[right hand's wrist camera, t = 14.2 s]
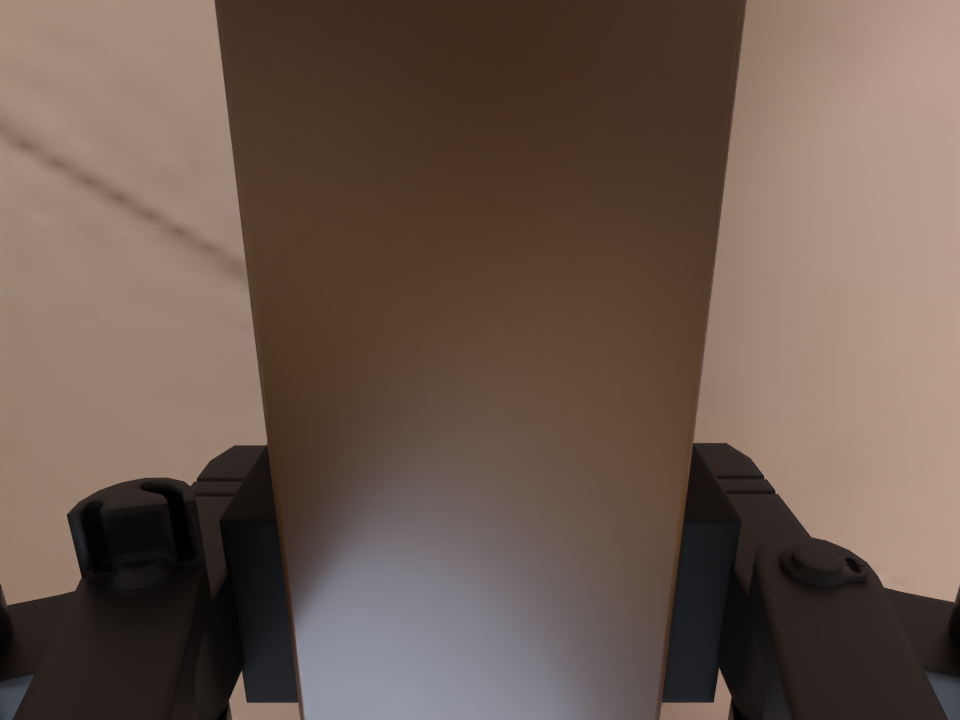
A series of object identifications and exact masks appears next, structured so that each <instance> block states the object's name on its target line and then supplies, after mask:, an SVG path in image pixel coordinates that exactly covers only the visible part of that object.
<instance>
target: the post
mask: <svg viewBox="0 0 960 720" xmlns="http://www.w3.org/2000/svg"><path fill="white" fill-rule="evenodd" d="M746 2H747V0H215V8H216V17H217V25H218V33H219V42H220V50H221V58H222V67H223V75H224V84H225V92H226V100H227V109H228V117H229V125H230V134H231V142H232V150H233V159H234V167H235V176H236V184H237V192H238V201H239V209H240V217H241V226H242V234H243V243H244V251H245V259H246V268H247V276H248V284H249V293H250V301H251V309H252V318H253V326H254V335H255V343H256V351H257V360H258V368H259V376H260V385H261V393H262V401H263V410H264V418H265V427H266V435H267V443H268V452H269V460H270V468H271V477H272V485H273V494H274V502H275V510H276V519H277V527H278V535H279V544H280V552H281V560H282V569H283V577H284V586H285V594H286V602H287V611H288V619H289V627H290V636H291V644H292V653H293V661H294V669H295V678H296V686H297V694H298V703H299V711H300V719H301V720H660V712H661V704H662V696H663V687H664V679H665V671H666V663H667V654H668V646H669V638H670V630H671V621H672V613H673V605H674V597H675V588H676V580H677V572H678V564H679V555H680V547H681V539H682V531H683V522H684V514H685V506H686V497H687V489H688V481H689V473H690V464H691V456H692V448H693V440H694V431H695V423H696V415H697V407H698V398H699V390H700V382H701V374H702V365H703V357H704V349H705V341H706V332H707V324H708V316H709V307H710V299H711V291H712V283H713V274H714V266H715V258H716V250H717V241H718V233H719V225H720V217H721V208H722V200H723V192H724V184H725V175H726V167H727V159H728V150H729V142H730V134H731V126H732V117H733V109H734V101H735V93H736V84H737V76H738V68H739V60H740V51H741V43H742V35H743V27H744V18H745V10H746Z"/></svg>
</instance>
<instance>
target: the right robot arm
mask: <svg viewBox="0 0 960 720" xmlns="http://www.w3.org/2000/svg"><path fill="white" fill-rule="evenodd" d="M67 518H68V522H69V526H70V530H71V534H72V538H73V542H74V546H75V551H76V555H77V559H78V563H79V567H80V571H81V575H82V578H81V580H80V582H79V585H78V587H77V589H76V591H73V592H69V593H65V594H62V595H57V596H52V597H47V598H42V599H37V600H32V601H27V602H22V603H17V604H12V605H7V604H6V601H5V597H4V594H3V591H2V587H1V585H0V720H232V716H231V710H230V704H229V699H230V696H231V694H232V692H233V689H234V687H235V685H236V682H237V680H238V678H239V675H240V673H241V671H242V674H243V680H244V687H245V693H246V700H247V703H298V694H297V686H296V678H295V669H294V661H293V653H292V644H291V636H290V627H289V619H288V611H287V602H286V594H285V586H284V577H283V569H282V560H281V552H280V544H279V535H278V527H277V519H276V510H275V502H274V494H273V485H272V477H271V468H270V460H269V452H268V444H267V445H266V446H233V447H231V448H230V449H228V450H227V451H225V452H224V453H222V454H220V455H219V456H217V457H216V458H214V459H212V460H211V461H210V462H209V463H208V465H207V466H206V467H205V469H204V470H203V471H202V472H201V474H200V475H199V476H198V478H197V482H194V483H193V484H192V486H191V487H190V486H189V485H188V484H187V483H185V482H184V481H179V480H175V479H171V478H143V479H138V480H132V481H127V482H122V483H119V484H116V485H113V486H110V487H108V488H105V489H102V490H99V491H97V492H95V493H94V494H92V495H90V496H89V497H87V498H85V499H83V500H82V501H80V502H79V503H78V504H77V505H76V506H75V507H74V508H73V509H72V510H71V511H70V512H69V513H68V514H67ZM719 668H720V670H721V673H722V675H723V677H724V680H725V682H726V684H727V687H728V689H729V692H730V694H731V696H732V698H731V704H730V710H729V716H728V720H960V586H959V589H958V593H957V596H956V600H955V603H954V602H949V601H944V600H939V599H934V598H929V597H924V596H919V595H914V594H909V593H904V592H899V591H896V590H892V589H888V588H884V587H883V585H882V583H881V581H880V579H879V577H878V576H877V574H876V573H875V572H874V571H873V570H872V568H871V567H870V566H869V565H868V563H867V562H865V561H864V560H863V559H861V558H860V557H858V556H857V555H855V554H854V553H852V552H851V551H849V550H847V549H845V548H843V547H840V546H838V545H836V544H833V543H831V542H828V541H826V540H821V539H816V538H812V537H811V536H810V535H809V534H808V532H807V531H806V530H805V528H804V527H803V526H802V525H801V523H800V522H799V521H798V519H797V518H796V517H795V516H794V514H793V513H792V512H791V510H790V509H789V508H788V506H787V505H786V504H785V503H784V501H783V500H782V499H781V497H780V496H779V495H778V494H775V490H774V488H773V487H772V486H771V484H770V483H769V482H768V480H767V479H764V475H763V474H762V473H761V471H760V470H759V469H758V468H757V466H756V465H755V464H754V462H753V461H752V460H751V458H749V457H747V456H746V455H744V454H743V453H741V452H739V451H738V450H736V449H735V448H733V447H731V446H730V445H728V444H727V443H693V448H692V456H691V464H690V473H689V481H688V489H687V497H686V506H685V514H684V522H683V531H682V539H681V547H680V555H679V564H678V572H677V580H676V588H675V597H674V605H673V613H672V621H671V630H670V638H669V646H668V654H667V663H666V671H665V679H664V687H663V696H662V702H713V703H714V696H715V690H716V683H717V677H718V670H719Z"/></svg>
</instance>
